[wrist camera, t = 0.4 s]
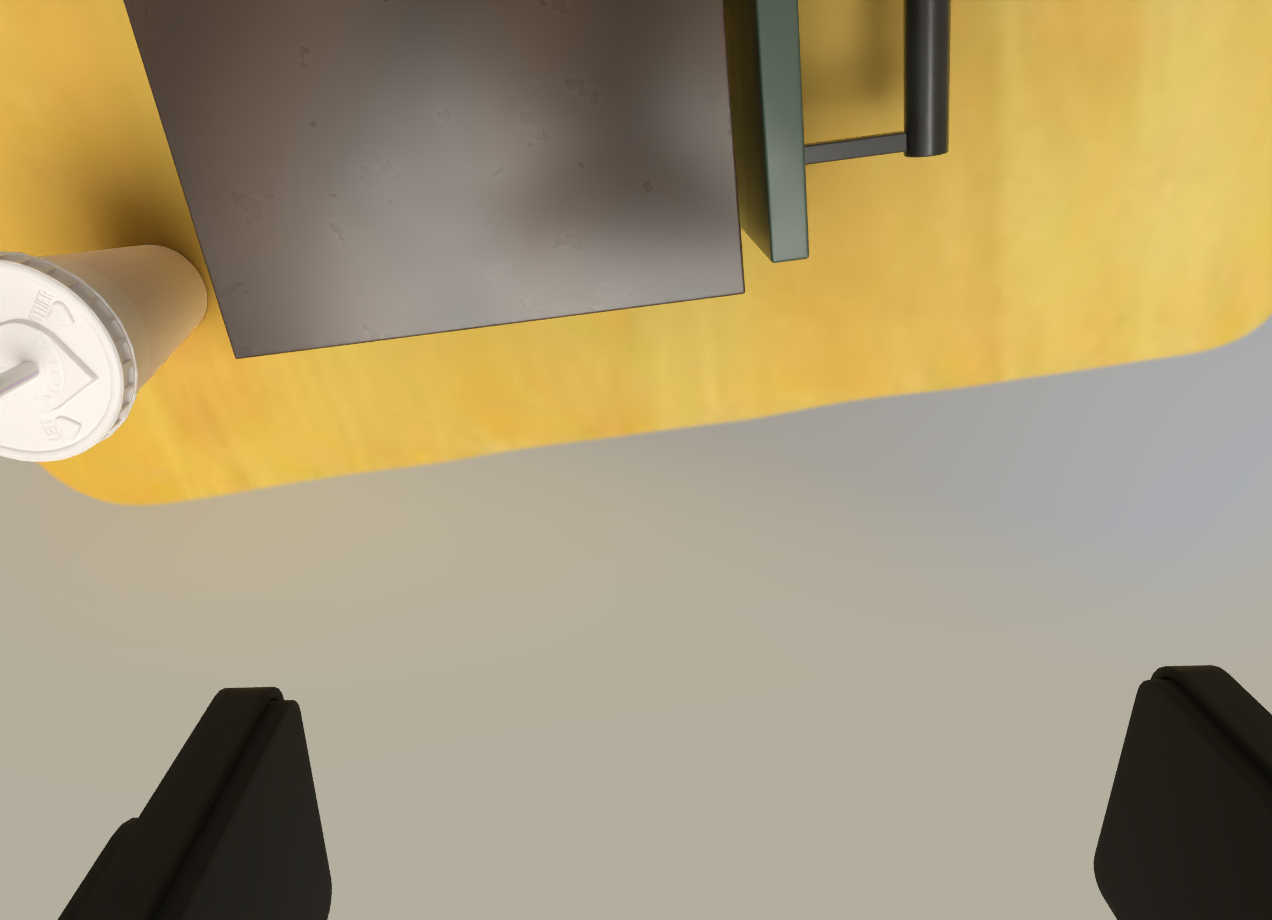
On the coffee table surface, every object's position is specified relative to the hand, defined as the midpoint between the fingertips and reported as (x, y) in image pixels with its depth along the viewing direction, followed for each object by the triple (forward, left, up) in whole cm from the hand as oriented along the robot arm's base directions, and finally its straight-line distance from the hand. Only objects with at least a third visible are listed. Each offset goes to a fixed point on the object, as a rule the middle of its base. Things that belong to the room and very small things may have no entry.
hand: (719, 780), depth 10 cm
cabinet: (-8, -5, -28) cm, 29 cm away
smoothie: (-2, -19, -28) cm, 34 cm away
